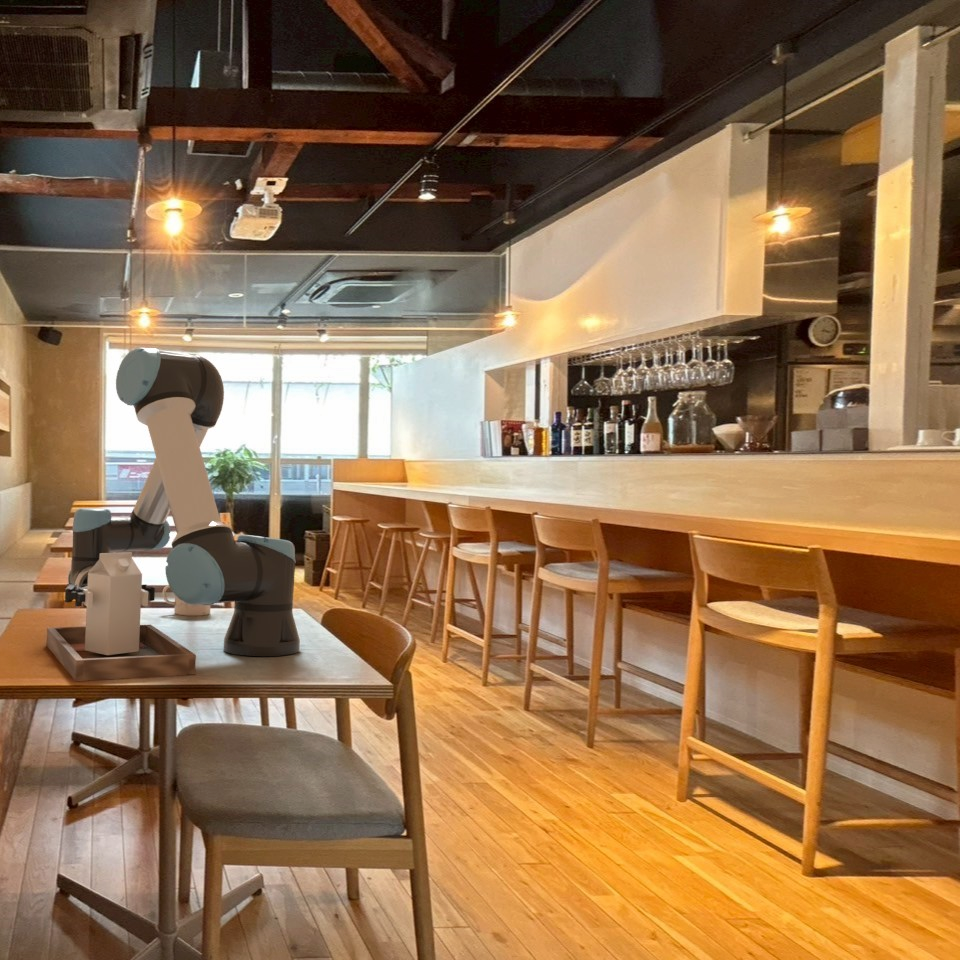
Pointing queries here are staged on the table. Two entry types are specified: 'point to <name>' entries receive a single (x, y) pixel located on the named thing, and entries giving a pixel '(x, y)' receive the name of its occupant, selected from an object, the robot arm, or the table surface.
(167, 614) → the table surface
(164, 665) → the box
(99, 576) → the milk carton
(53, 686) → the table surface
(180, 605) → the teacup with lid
